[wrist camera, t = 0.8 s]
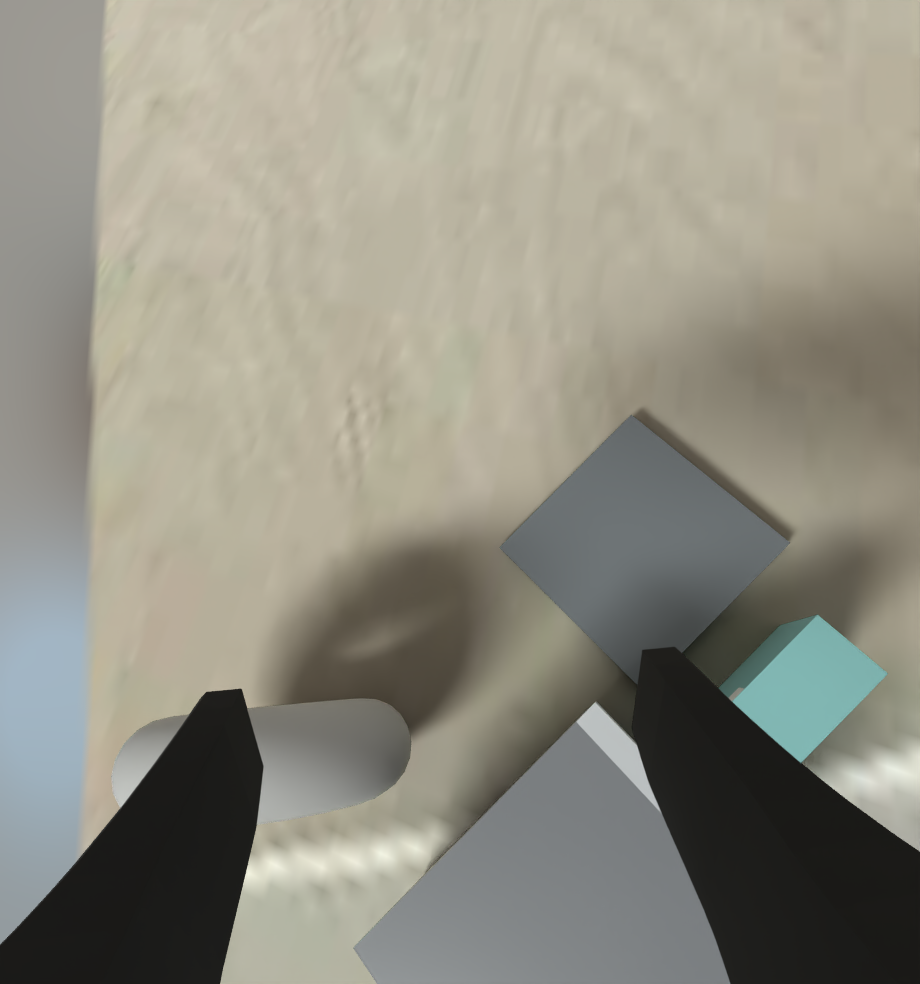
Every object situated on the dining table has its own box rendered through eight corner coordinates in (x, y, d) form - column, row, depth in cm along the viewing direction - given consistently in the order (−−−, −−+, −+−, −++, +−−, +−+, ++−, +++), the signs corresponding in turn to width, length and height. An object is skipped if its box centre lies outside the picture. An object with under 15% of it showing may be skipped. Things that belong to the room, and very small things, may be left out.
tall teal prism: (833, 672, 24) (888, 673, 19) (625, 885, 23) (625, 942, 19) (778, 625, 24) (817, 614, 20) (577, 830, 24) (566, 870, 19)
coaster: (786, 545, 25) (790, 542, 24) (643, 691, 25) (643, 691, 24) (631, 419, 28) (631, 414, 27) (501, 550, 28) (499, 547, 27)
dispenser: (772, 868, 22) (833, 951, 16) (572, 1074, 22) (550, 1243, 16) (602, 693, 25) (595, 702, 19) (423, 874, 25) (353, 947, 18)
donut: (439, 687, 27) (340, 698, 17) (446, 776, 26) (346, 838, 16) (227, 710, 29) (36, 730, 19) (226, 793, 28) (26, 856, 18)
